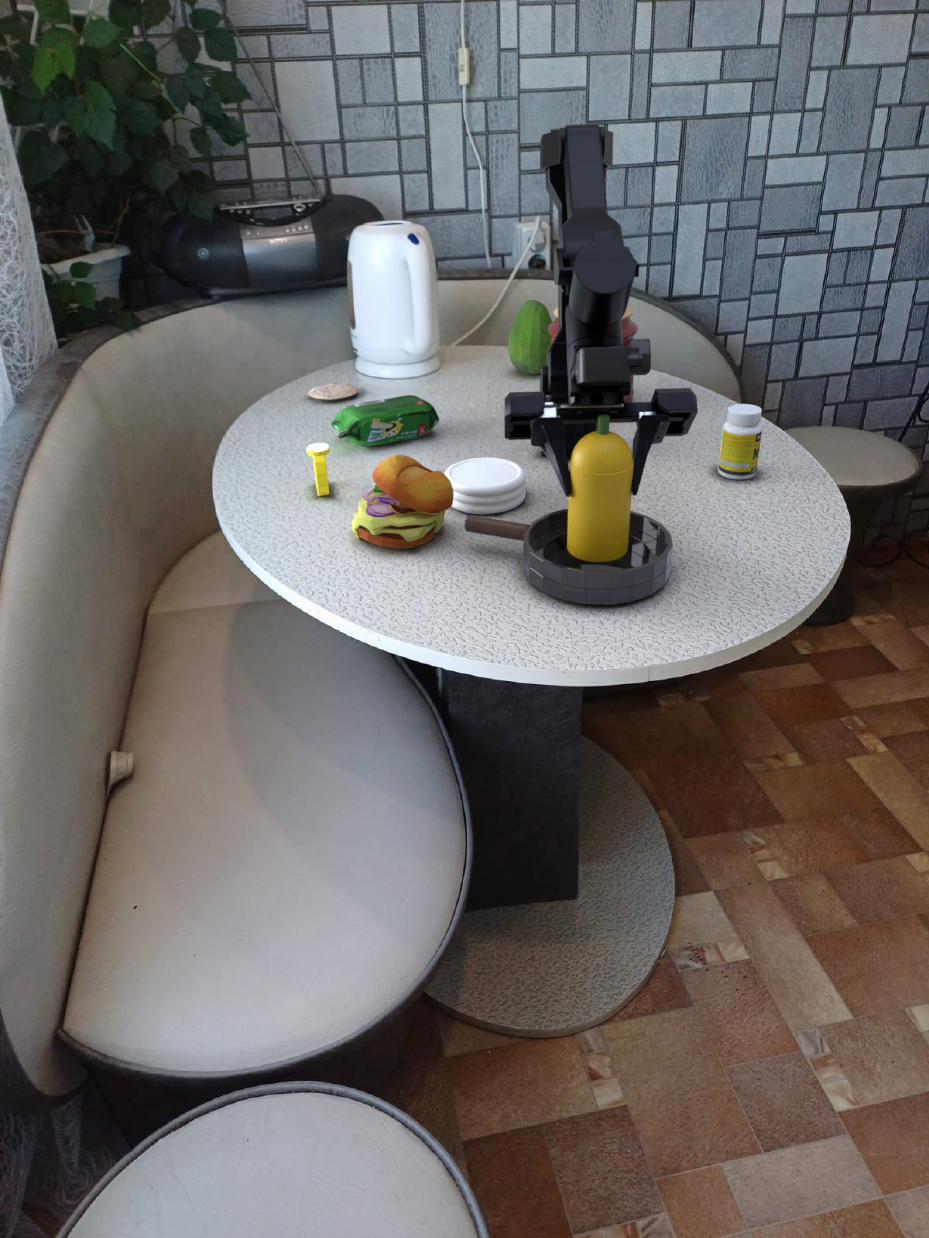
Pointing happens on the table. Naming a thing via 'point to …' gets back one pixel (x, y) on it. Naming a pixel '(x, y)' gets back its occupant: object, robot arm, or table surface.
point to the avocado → (530, 338)
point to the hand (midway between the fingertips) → (601, 494)
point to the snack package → (386, 420)
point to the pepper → (600, 495)
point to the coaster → (486, 485)
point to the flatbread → (333, 391)
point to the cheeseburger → (403, 504)
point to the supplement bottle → (740, 442)
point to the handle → (495, 527)
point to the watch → (320, 466)
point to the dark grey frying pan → (597, 580)
